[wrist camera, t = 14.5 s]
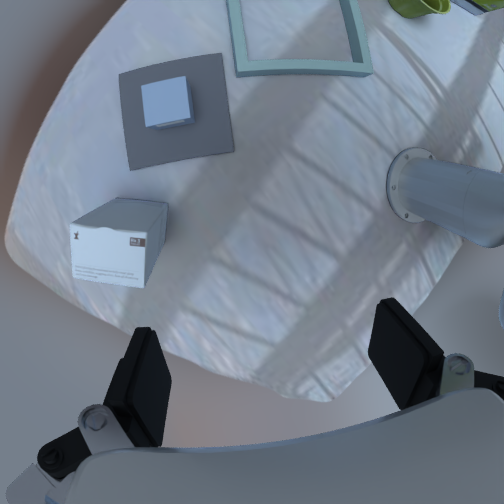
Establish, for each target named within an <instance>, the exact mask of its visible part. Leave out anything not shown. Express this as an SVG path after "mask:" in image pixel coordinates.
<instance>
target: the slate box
mask: <svg viewBox="0 0 504 504" xmlns="http://www.w3.org/2000/svg"><path fill="white" fill-rule="evenodd" d="M141 89H142V99H143V108H144V117H145V125H146V127H148V128H151V129H155V130H161V129H165V128H170V127H175V126H180V125H185V124H191V123H195V118H194V110H193V103H192V94H191V87H190V85H189V83H188V80H187V78H186V76H182V77H177V78H172V79H167V80H163V81H158V82H154V83H150V84H146V85H142V86H141Z"/></svg>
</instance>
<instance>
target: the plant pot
mask: <svg viewBox="0 0 504 504" xmlns="http://www.w3.org/2000/svg"><path fill="white" fill-rule="evenodd" d="M389 3H390V5H391V6H392V8H393V9H394V10H395V11H397V12H399V13H400V14H401V15H402V16H404V17H406V18H414V17H418V16H422V15H426V14H431V13H439V14H446V13H448V12H449V11H450V8H451V5H450V0H389Z"/></svg>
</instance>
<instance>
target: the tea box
mask: <svg viewBox="0 0 504 504" xmlns="http://www.w3.org/2000/svg"><path fill="white" fill-rule="evenodd" d="M451 1H452V2H454V3H456V4H458V5H459V6H461V7H463V8H464V9H466V10H468V11H469V12H471V13H472V14H474V15H479V14H483V13H485V12H489V11H493V10H497V9H500V8H504V0H451Z"/></svg>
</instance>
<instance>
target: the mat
mask: <svg viewBox="0 0 504 504" xmlns="http://www.w3.org/2000/svg"><path fill="white" fill-rule="evenodd" d="M182 76H186V78H187V80H188V83H189V85H190V87H191V94H192V103H193V110H194V118H195V123H191V124H185V125H180V126H175V127H170V128H165V129H161V130H155V129H151V128H148V127H146V125H145V117H144V108H143V99H142V89H141V86H142V85H146V84H150V83H154V82H158V81H163V80H167V79H172V78H177V77H182ZM119 87H120V99H121V109H122V119H123V127H124V135H125V142H126V149H127V156H128V162H129V168H130V171H131V170H135V169H140V168H144V167H149V166H153V165H158V164H163V163H168V162H173V161H178V160H184V159H189V158H195V157H201V156H207V155H213V154H220V153H227V152H234V148H233V140H232V133H231V125H230V117H229V109H228V101H227V93H226V85H225V77H224V69H223V61H222V53H216V54H208V55H201V56H195V57H189V58H184V59H178V60H173V61H168V62H164V63H159V64H155V65H151V66H147V67H143V68H139V69H136V70H132V71H128V72H125V73H122V74H119Z"/></svg>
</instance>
